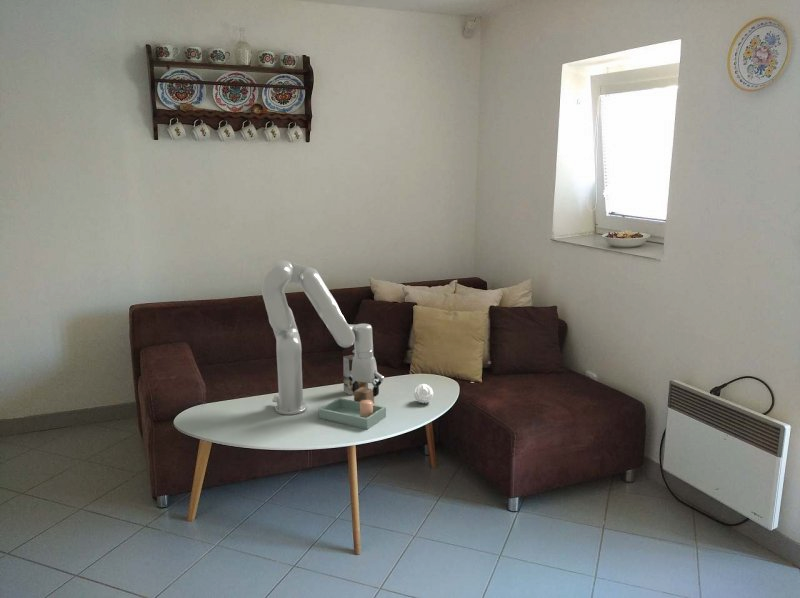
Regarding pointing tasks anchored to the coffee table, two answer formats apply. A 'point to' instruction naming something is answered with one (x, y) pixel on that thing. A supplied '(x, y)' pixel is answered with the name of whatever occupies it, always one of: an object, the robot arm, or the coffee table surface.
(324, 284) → the robot arm
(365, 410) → the terracotta cylinder
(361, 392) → the walnut block
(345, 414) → the tote
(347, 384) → the coffee box
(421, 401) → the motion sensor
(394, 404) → the coffee table surface
